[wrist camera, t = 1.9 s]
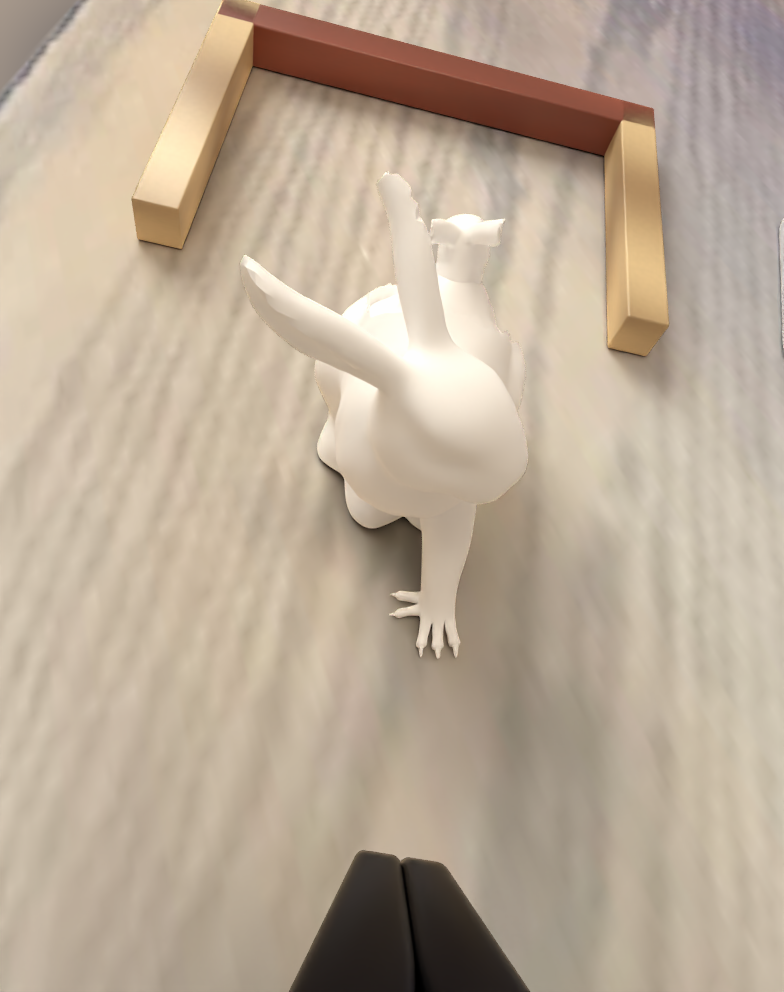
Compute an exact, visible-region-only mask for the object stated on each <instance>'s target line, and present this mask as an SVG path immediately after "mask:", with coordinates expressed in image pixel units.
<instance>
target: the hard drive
mask: <svg viewBox="0 0 784 992" xmlns="http://www.w3.org/2000/svg"><path fill="white" fill-rule="evenodd" d="M779 243H780V269H781V300H782V340H783V349H784V218H783V220H782V221H781V224H780V230H779Z"/></svg>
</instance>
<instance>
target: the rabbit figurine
mask: <svg viewBox="0 0 784 992" xmlns="http://www.w3.org/2000/svg"><path fill="white" fill-rule="evenodd" d="M376 186H377V190H378V193H379V196H380V198H381V201H382V203H383V206H384V208H385V211H386V214H387V217H388V222H389V228H390V235H391V243H392V253H393V263H394V270H395V278H396V283H397V285H391V283H389V284H387V285H386V286H383V287H377V288H376V289H374V290H373V291H372V292H369V293H368V294H367V295H366V296H364V297H362V298H361V299H359V300H358V301H356V302H355V303H353V304H352V305H351V306H350V307H349V308H348V309H347V310H346V311H345V312H344V313H343V315H342V316H341V315H339V314H337V313H335V312H334V311H332V310H330V309H328V308H326V307H324V306H322V305H320V304H318V303H316V302H314V301H312V300H310V299H309V298H307V297H305V296H303V295H301V294H299V293H297V292H296V291H294V290H293V289H291V288H290V287H288V286H287V285H285V284H284V283H282V282H281V281H280V280H278V279H277V278H276V277H274V276H273V275H272V274H271V273H269V272H268V271H267V270H266V269H264V268H263V267H262V266H261V265H259V264H258V263H257V262H256V261H254V260H253V259H251V258H250V257H248V256H247V255H245V254H244V256H243V258H242V259H241V261H240V271H241V276H242V281H243V285H244V289H245V291H246V293H247V295H248V297H249V300H250V302H251V305H252V306H253V308H254V309H255V311H256V313H257V314H258V315H259V316H260V317H261V319H262V320H263V321H264V322H265V323H266V324H267V325H268V326H269V327H270V328H271V329H272V330H273V331H274V332H275V333H276V334H277V335H278V336H279V337H281V338H282V339H283V340H285V341H286V342H287V343H288V344H290V345H291V346H292V347H293V348H295V349H296V350H298V351H299V352H301V353H303V354H304V355H306V356H308V357H311V358H313V359H316V363H315V380H316V382H317V385H318V388H319V390H320V392H321V394H322V396H323V398H324V400H325V402H326V404H327V406H328V408H329V415H328V419H327V421H326V423H325V426H324V428H323V430H322V432H321V435H320V437H319V440H318V442H317V452H318V455H319V458H320V459H321V460H322V461H323V462H324V463H326V464H327V465H328V466H330V467H331V468H333V469H334V470H336V471H337V472H339V473H340V474H341V475H342V476H343V477H344V482H345V497H346V503H347V507H348V510H349V512H350V514H351V516H352V517H353V518H354V519H355V520H356V521H357V522H358V523H359V524H361V525H362V526H363V527H367V528H378V527H381V526H384V525H386V524H389V523H391V522H393V521H395V520H397V519H399V518H401V517H405V518H407V519H408V520H409V521H410V523H411V524H412V525H414V526H415V527H417V528H418V529H420V530H421V531H422V569H421V591H418V592H406V591H398V592H397V593H390V594H389V595H393V596H395V597H396V598H397V600H399V601H408V602H411V603H414V604H415V605H413V606H410V607H406V608H399V609H397V610H396V611H395V612H394V613H390V614H388V615H391V616H396V617H397V618H401V617H405V616H419V617H420V626H419V635H418V638H417V641H416V647H418V648H419V653H420V657H422V655H423V648H424V647H426V645H427V639H428V635H429V632H430V628H431V624H432V646H431V647H432V649H433V650H435V653H436V657H437V658H440V652H441V649H442V648H443V628H444V624H445V630H446V633H447V637H448V644H449V646H450V647H453V651H454V655H455V657H456V658H457V655H458V647H459V645H460V644H461V643H460V639H459V636H458V633H457V628H456V622H455V602H456V594H457V589H458V584H459V580H460V577H461V574H462V571H463V568H464V565H465V562H466V559H467V555H468V552H469V548H470V543H471V539H472V534H473V528H474V521H475V514H476V507H477V504H487V503H490V502H493V501H495V500H497V499H498V498H500V497H501V496H502V495H503V494H504V493H505V492H507V491H508V490H509V489H510V488H511V487H512V486H513V485H514V484H515V483H517V482H518V481H519V480H520V479H521V477H522V476H523V475H524V474H525V471H526V467H527V462H528V449H527V443H526V436H525V432H524V428H523V426H522V423H521V420H520V417H519V415H518V410H519V407H520V404H521V400H522V396H523V390H524V385H525V378H526V365H525V360H524V356H523V351H522V349H521V346H520V343H519V342H513V341H511V339H510V334H509V333H508V332H507V331H504V332H501V331H500V330H499V329H498V327H497V324H496V319H495V314H494V310H493V307H492V305H491V302H490V300H489V297H488V294H487V291H486V289H485V287H484V285H483V284H482V279H483V272H484V269H485V267H486V265H487V263H488V261H489V257H490V247H489V246H493V247H497V246H499V245H500V243H501V230H502V226H503V224H504V222H505V219H499V220H490V221H483V219H482V218H481V217H478V216H475V215H471V214H459V215H455V216H453V217H451V218H449V219H447V220H443V219H432V222H431V229H430V233H429V232H428V230H427V228H426V226H425V224H424V222H423V220H422V218H421V217H420V211H419V204H418V203H417V202H416V201H415V200H414V199H413V198H412V188H411V187H410V186H409V184H408V183H407V182H406V181H405V180H404V179H403V178H402V177H401V176H400V175H398V174H390V173H389V172H388V171H387V172H386V173H385V174H384V175H383V176H382V177H381V178H380V179H379V180H378V181H377V183H376ZM432 244H439V247H438V253H437V262H436V264H435V260H434V256H433V252H432Z"/></svg>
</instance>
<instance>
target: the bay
mask: <svg viewBox="0 0 784 992" xmlns="http://www.w3.org/2000/svg"><path fill="white" fill-rule="evenodd" d="M252 66H256V67H260V68H264V69H268V70H272V71H275V72H279V73H283V74H287V75H291V76H295V77H299V78H303V79H307V80H310V81H314V82H318V83H322V84H326V85H330V86H334V87H338V88H342V89H345V90H349V91H353V92H357V93H361V94H365V95H369V96H373V97H377V98H381V99H384V100H388V101H392V102H396V103H400V104H404V105H408V106H412V107H416V108H419V109H423V110H427V111H431V112H435V113H439V114H443V115H447V116H451V117H454V118H458V119H462V120H466V121H470V122H474V123H478V124H482V125H486V126H490V127H493V128H497V129H501V130H505V131H509V132H513V133H517V134H521V135H525V136H528V137H532V138H536V139H540V140H544V141H548V142H552V143H556V144H560V145H564V146H567V147H571V148H575V149H579V150H583V151H587V152H591V153H595V154H599V155H602V156H604V165H605V224H606V283H607V342H608V347H609V348H612V349H616V350H620V351H625V352H629V353H633V354H638V355H642V356H647V355H648V353H649V352H650V351H651V349H652V348H653V347H654V345H655V344H656V343H657V341H658V340H659V339H660V337H661V336H662V335H663V333H664V332H665V331H666V329H667V328H668V327H669V316H668V302H667V288H666V274H665V260H664V246H663V232H662V219H661V205H660V191H659V177H658V163H657V149H656V135H655V121H654V109H653V108H650V107H646V106H642V105H638V104H635V103H631V102H627V101H623V100H620V99H616V98H612V97H608V96H604V95H601V94H597V93H593V92H589V91H586V90H582V89H578V88H574V87H570V86H567V85H563V84H559V83H555V82H552V81H548V80H544V79H540V78H536V77H533V76H529V75H525V74H521V73H518V72H514V71H510V70H506V69H502V68H499V67H495V66H491V65H487V64H484V63H480V62H476V61H472V60H468V59H465V58H461V57H457V56H453V55H450V54H446V53H442V52H438V51H434V50H431V49H427V48H423V47H419V46H416V45H412V44H408V43H404V42H400V41H397V40H393V39H389V38H385V37H382V36H378V35H374V34H370V33H366V32H363V31H359V30H355V29H351V28H348V27H344V26H340V25H336V24H332V23H329V22H325V21H321V20H317V19H314V18H310V17H306V16H302V15H299V14H295V13H291V12H287V11H283V10H280V9H276V8H272V7H268V6H265V5H261V4H258V3H255V2H251V1H247V0H222V2H221V4H220V6H219V8H218V10H217V13H216V15H215V17H214V19H213V21H212V23H211V26H210V28H209V30H208V32H207V34H206V37H205V39H204V41H203V43H202V45H201V48H200V50H199V52H198V54H197V56H196V58H195V61H194V63H193V65H192V67H191V69H190V72H189V74H188V76H187V78H186V80H185V83H184V85H183V87H182V89H181V91H180V93H179V96H178V98H177V100H176V102H175V104H174V107H173V109H172V111H171V113H170V115H169V118H168V120H167V122H166V124H165V126H164V128H163V131H162V133H161V135H160V137H159V139H158V142H157V144H156V146H155V148H154V150H153V153H152V155H151V157H150V159H149V161H148V164H147V166H146V168H145V170H144V172H143V174H142V177H141V179H140V181H139V183H138V185H137V188H136V190H135V192H134V194H133V196H132V206H133V212H134V219H135V226H136V232H137V238H138V239H140V240H144V241H148V242H153V243H157V244H161V245H166V246H170V247H174V248H178V249H182V247H183V245H184V242H185V239H186V237H187V234H188V232H189V229H190V226H191V224H192V221H193V219H194V216H195V214H196V211H197V208H198V206H199V203H200V201H201V198H202V195H203V193H204V190H205V188H206V185H207V183H208V180H209V177H210V175H211V172H212V170H213V167H214V164H215V162H216V159H217V157H218V154H219V152H220V149H221V146H222V144H223V141H224V139H225V136H226V133H227V131H228V128H229V126H230V123H231V121H232V118H233V115H234V113H235V110H236V108H237V105H238V102H239V100H240V97H241V95H242V92H243V90H244V87H245V84H246V82H247V79H248V77H249V74H250V71H251V69H252Z"/></svg>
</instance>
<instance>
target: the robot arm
mask: <svg viewBox="0 0 784 992" xmlns="http://www.w3.org/2000/svg"><path fill="white" fill-rule="evenodd" d="M289 992H530V991H529V989H528V988H527V986H526V985H525V983H524V982H523V980H522V979H521V977H520V976H519V974H518V973H517V971H516V970H515V968H514V967H513V965H512V964H511V962H510V961H509V960H508V958H507V957H506V955H505V954H504V952H503V951H502V949H501V948H500V946H499V945H498V943H497V942H496V940H495V939H494V937H493V936H492V934H491V933H490V931H489V930H488V928H487V927H486V925H485V924H484V922H483V921H482V919H481V918H480V916H479V915H478V914H477V912H476V911H475V909H474V908H473V906H472V905H471V903H470V902H469V900H468V899H467V897H466V896H465V894H464V893H463V891H462V890H461V888H460V887H459V885H458V884H457V882H456V881H455V879H454V878H453V876H452V875H451V873H450V872H449V871H448V869H447V868H446V867H445V866H444V865H443V864H441V863H439V862H434V861H428V860H422V859H416V858H410V857H407V858H404V859H403V860H401V862H400V860H399V859H398V858H397V857H396V856H395V855H391V854H385V853H378V852H372V851H366V850H362V851H359V852H358V853H357V854H356V856H355V858H354V860H353V862H352V864H351V866H350V868H349V870H348V872H347V874H346V876H345V878H344V880H343V882H342V884H341V886H340V888H339V890H338V892H337V894H336V896H335V898H334V900H333V903H332V905H331V907H330V909H329V911H328V913H327V915H326V917H325V919H324V921H323V923H322V925H321V927H320V929H319V931H318V933H317V935H316V937H315V939H314V941H313V943H312V945H311V948H310V950H309V952H308V954H307V956H306V958H305V960H304V962H303V964H302V966H301V968H300V970H299V972H298V974H297V976H296V978H295V980H294V982H293V984H292V986H291V988H290V990H289Z"/></svg>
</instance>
